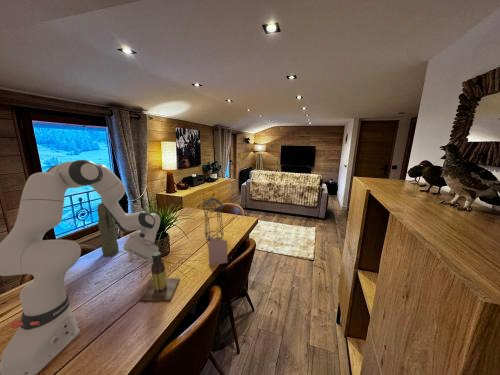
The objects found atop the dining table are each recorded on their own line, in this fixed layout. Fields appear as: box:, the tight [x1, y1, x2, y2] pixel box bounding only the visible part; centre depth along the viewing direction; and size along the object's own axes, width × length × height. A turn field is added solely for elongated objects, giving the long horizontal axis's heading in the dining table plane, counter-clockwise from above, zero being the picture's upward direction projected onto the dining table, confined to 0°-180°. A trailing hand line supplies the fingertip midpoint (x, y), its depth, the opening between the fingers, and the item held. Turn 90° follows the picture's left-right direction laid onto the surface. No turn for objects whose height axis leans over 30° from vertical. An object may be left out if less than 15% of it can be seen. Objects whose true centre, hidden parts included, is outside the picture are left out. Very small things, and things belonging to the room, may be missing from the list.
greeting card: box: [208, 237, 228, 266], centre depth 121 cm, size 11×7×15 cm, turn 74°
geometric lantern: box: [200, 197, 225, 244], centre depth 148 cm, size 16×16×35 cm
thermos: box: [96, 202, 120, 258], centre depth 127 cm, size 9×12×35 cm
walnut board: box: [139, 277, 180, 303], centre depth 99 cm, size 15×14×1 cm
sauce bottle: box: [150, 251, 167, 293], centre depth 96 cm, size 6×6×20 cm
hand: (137, 264), depth 103 cm, fingers open, 8 cm apart
